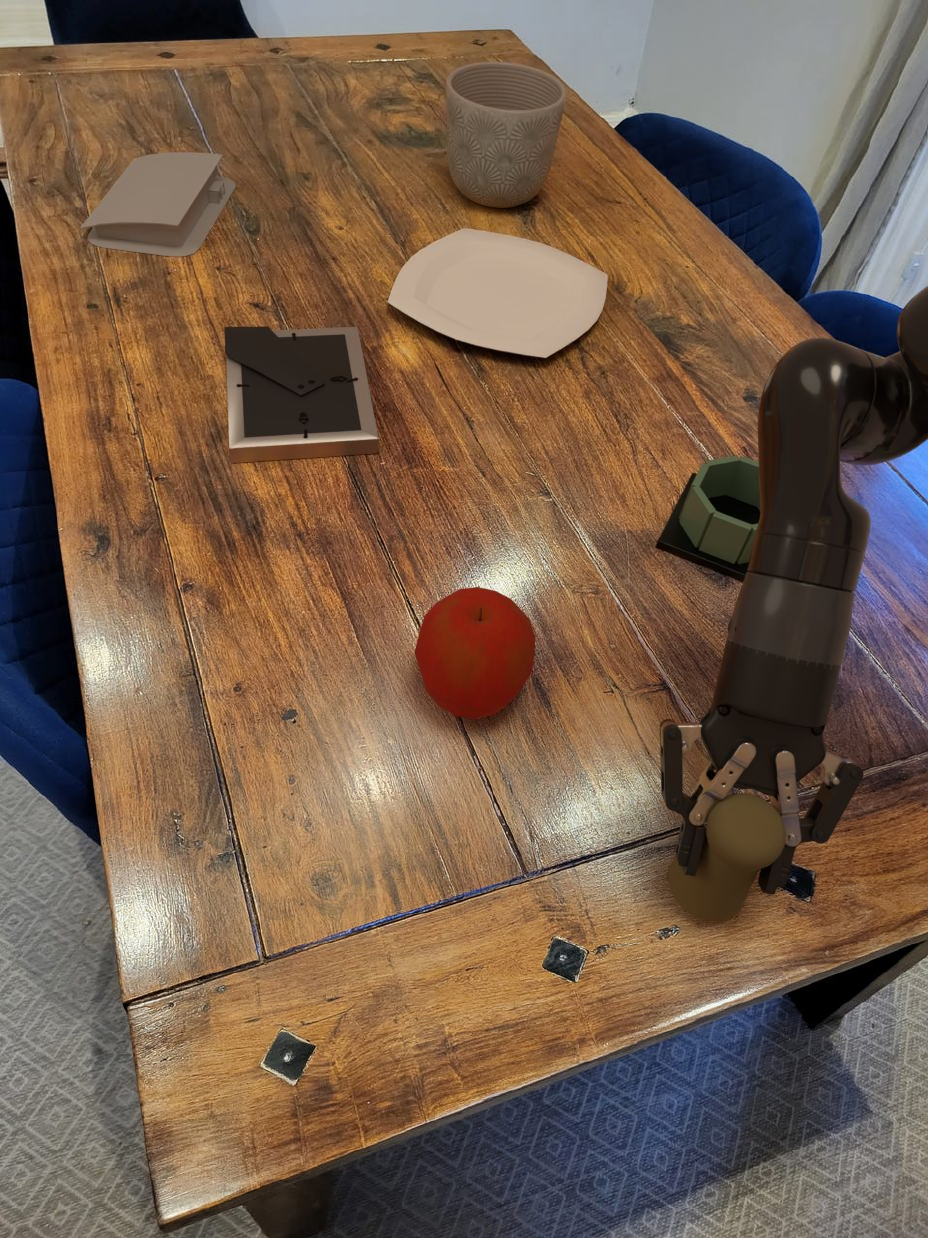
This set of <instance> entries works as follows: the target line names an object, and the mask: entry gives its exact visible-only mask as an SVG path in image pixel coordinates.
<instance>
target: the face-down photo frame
mask: <svg viewBox="0 0 928 1238" xmlns="http://www.w3.org/2000/svg"><path fill="white" fill-rule="evenodd" d="M224 353H225V363H226V364H225V365H226V366H225V368H226V369H225V370H226V396H227V397H226V398H227V427H228V428H227V429H228V450H229V456H230V461H231V464H242V463H255V462H258V463H259V462H271V461H272V462H273V461H285V460H299V459H301V460H303V459H314V458H315V459H317V458H331V457H344V456H345V457H346V456H358V455H359V456H361V455H373V454H380V438H379V433H378V428H377V421H376V417H375V411H374V406H373V403H372V402H373V401H372V395H371V390H370V385H369V379H368V375H367V368H366V364H365V358H364V353H363V348H362V343H361V337H360V332H359V326H342V327H341V326H340V327H318V328H299V329H298V328H296V329H274V330H273V329H271V328H270V327H269V326H267V325H265V326H263V325H259V326H258V325H257V326H255V325H254V326H224Z"/></svg>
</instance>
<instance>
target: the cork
mask: <svg viewBox="0 0 928 1238" xmlns="http://www.w3.org/2000/svg"><path fill="white" fill-rule="evenodd" d="M705 826H706V835H705V839H704V843H703V847H702V851H701V856H700V860H699V864H698V868H697V872H696V875H695V877H692V876H688V875H684V873H683V870H682V868H681V865H679V864H678V861H677V858H676V854H675V855H674V856H673V858H672V859H671V861H670V863H669V865H668V871H667V880H668V881H667V882H668V887H669V890H670V892H671V894H672V896H673V899H674V900H675V902H676V903H677V904H678V905H679V906H680V907H681V908H682V910H684V911H685V912H686V913H688V914H689V915H691V916H692V917H694V918H696V919H698V920H702V921H705V922H710V923H713V922H715V923H716V922H717V923H718V922H719V923H721V922H724V921H727V920H729V919H733V918H734V917H735V916H736V915H737V914H738V913H739V912H740V911H741V910H742V908H743V906H744V904H745V901H746V900H747V897H748V895H749V893H750V891H751V889H752V887H753V884H754V882H755V880H756V878H757V876H758V875H759V873H760V869H762V868H764V867H767V866H769V865H771V864H772V863H773V862H774V861H775V860H776V859H777V858H778V857H779V856H780V855H781V852H782V850H783V848H784V846H785V840H786V830H785V826H784V823H783V820H782V818H781V816H780V815H779V813H778V812H777V810H776V809H775V808H774V807H773V806H772V805H771V802H770V801H768V800H766V799H764V798H763V797H761V796H758V795H755V794H751V793H749V792H740V793H739V792H738V793H737V792H735V793H732V794H728V795H727V796H726V797H725V798H724V800H723V801H721V802H719V803H717V804H716V806H715V807H714V808H713V809H712V811H711V812H710V814H709V816H708V819H707V821H706V824H705Z"/></svg>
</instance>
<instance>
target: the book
mask: <svg viewBox="0 0 928 1238" xmlns="http://www.w3.org/2000/svg"><path fill="white" fill-rule="evenodd" d="M223 158H224V155H223V154H218V153H212V152H193V151H186V152H185V151H179V152H178V151H176V152H173V151H171V152H169V151H168V152H160V153H151V154H147V155H142V156H139V157H134V158H133V159H132V160H131V162H129V164H128V166H127V167H126V168H125V169H124V171H123V172H122V173H121V175H120V176H119V177H118V178H117V180H116V181H115V182H114V184H113V185H112V186H111V188H109V190H108V192H107V193H106V194H105V195H104V197H103V198H102V199H101V200H100V202H98V204H97V205H96V207H95V208H94V209H93V211H92V212H91V213H90V214H89V215H88V217H87V218H86V219H85V221H84V222H83V223H82V225H81V226H80V227H79V230H85V229H89V228H92V229H91V230H90V231H89V233H88V234H87V241H88V242H89V243H90V244H91V245H92V246H94V247H95V246H96V247H99V248H102V249H107V250H108V249H109V250H115V251H116V250H117V251H123V252H124V251H125V252H132V253H139V254H146V255H147V254H148V255H153V256H162V257H163V256H164V257H170V258H183V257H187V256H192V255H194V254H195V253H196V252H198V251H199V250H200V249H201V247H202V245H203V244H204V242H205V240H206V239H207V237H208V236H209V234H210V232H211V230H212V228H213V226H214V225H215V223H216V222H217V220H218V218H219V216H220V215H221V213H222V211H223V210H224V208H225V207H226V205H227V203H228V202H229V200H230V198H231V197H232V194H233V193H234V191H235V190H236V182H235V181H233V180H232V179H231V178H227V177H224V176H219V175H218V166H219V164H220V162H221V161H222V159H223Z"/></svg>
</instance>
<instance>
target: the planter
mask: <svg viewBox="0 0 928 1238" xmlns="http://www.w3.org/2000/svg"><path fill="white" fill-rule="evenodd" d="M445 85H446V86H445V90H446V91H445V92H446V93H445V95H446V98H445V99H446V100H445V101H446V102H445V105H446V157H447V165H448V170H449V173H450V176H451V178H452V181H453V183H454V185H455V187H456V188H457V189H458V191H460V193H461V194H462V195H463V196H464V197H466V198H467V199H469V200H471V201H472V202H473V203H476V204H479V205H481V206H484V207H489V208H496V209H506V208H513V207H518V206H521V205H524V204H525V203H527V202H529V201H530V200H532V199H534V197H536V195H538V194H539V192H541V190H542V188H543V187H544V186H545V184H546V182H547V179H548V177H549V175H550V172H551V169H552V164H553V161H554V155H555V151H556V148H557V147H556V146H557V144H558V143H557V142H558V137H559V132H560V128H561V124H562V119H563V116H564V111H565V106H566V101H567V95H568V93H567V89H566V86H565V85H564V83H563V82H562V81H561V80H560V79H559V78H557V77H556V76H554V75H553V74H551V73H549V72H547V71H545V70H543V69H540V68H537V67H534V66H530V65H527V64H522V63H517V62H508V61H480V62H473V63H469V64H465V65H462V66H460V67H458V68H456V69H454V70H453V71H451V72H450V73H449V74H448V76H447V78H446V81H445Z"/></svg>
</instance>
